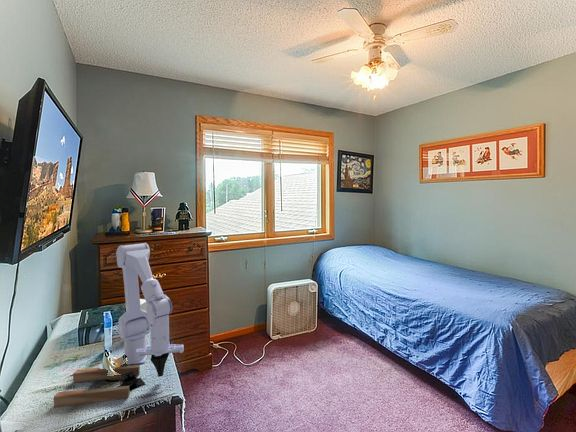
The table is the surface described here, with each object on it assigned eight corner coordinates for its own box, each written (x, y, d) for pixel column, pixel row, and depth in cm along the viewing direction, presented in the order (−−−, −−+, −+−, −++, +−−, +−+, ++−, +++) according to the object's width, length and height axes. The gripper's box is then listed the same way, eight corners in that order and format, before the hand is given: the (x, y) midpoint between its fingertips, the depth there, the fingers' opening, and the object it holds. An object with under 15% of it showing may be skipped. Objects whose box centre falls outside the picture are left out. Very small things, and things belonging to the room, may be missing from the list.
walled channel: (75, 379, 103) (75, 370, 103) (139, 372, 107) (139, 363, 107) (53, 407, 90) (53, 396, 90) (128, 398, 94) (127, 387, 94)
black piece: (110, 403, 93) (109, 388, 93) (103, 391, 98) (102, 378, 98) (152, 385, 101) (151, 371, 101) (144, 375, 107) (143, 362, 106)
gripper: (132, 342, 96) (134, 384, 97) (181, 338, 99) (182, 379, 100) (138, 333, 103) (139, 372, 104) (184, 329, 106) (184, 367, 107)
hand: (160, 374), depth 102 cm, fingers closed
